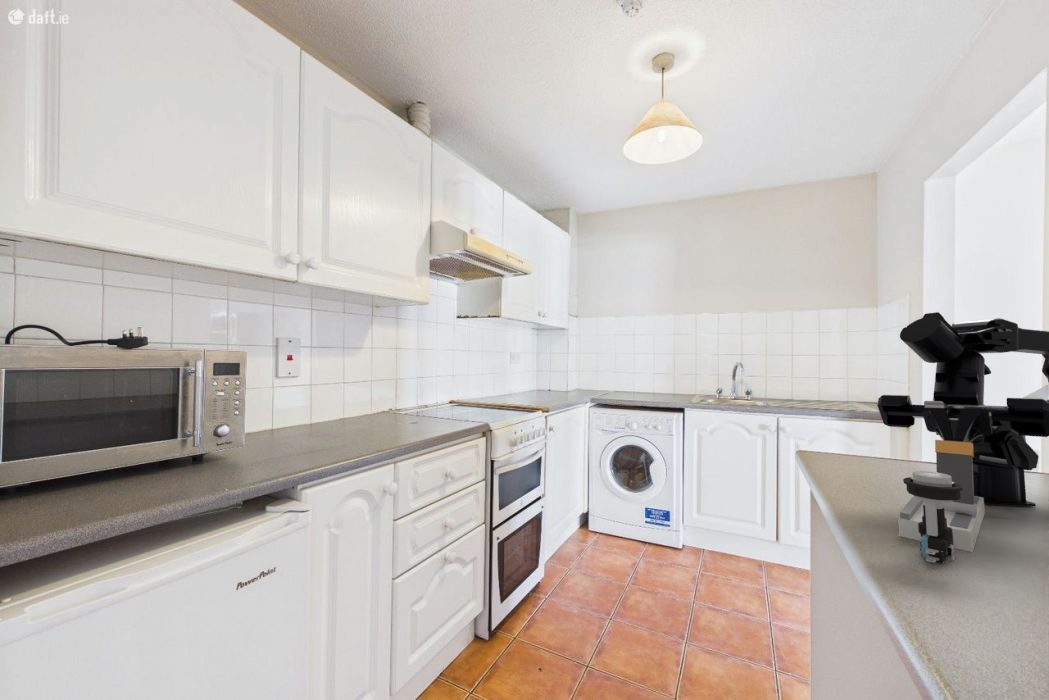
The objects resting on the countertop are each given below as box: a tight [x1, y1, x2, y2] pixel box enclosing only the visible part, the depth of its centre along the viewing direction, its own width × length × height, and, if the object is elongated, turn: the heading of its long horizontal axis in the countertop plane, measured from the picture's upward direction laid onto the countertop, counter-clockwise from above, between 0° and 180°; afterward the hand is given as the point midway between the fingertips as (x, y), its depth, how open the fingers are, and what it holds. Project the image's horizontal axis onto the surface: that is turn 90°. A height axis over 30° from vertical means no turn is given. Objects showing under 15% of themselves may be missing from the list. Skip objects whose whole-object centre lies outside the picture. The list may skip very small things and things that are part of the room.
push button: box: [902, 470, 963, 564], centre depth 52 cm, size 7×5×10 cm
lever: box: [934, 439, 977, 516], centre depth 61 cm, size 2×4×10 cm, turn 39°
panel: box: [897, 495, 986, 553], centre depth 63 cm, size 20×7×3 cm, turn 130°
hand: (954, 457), depth 63 cm, fingers closed
